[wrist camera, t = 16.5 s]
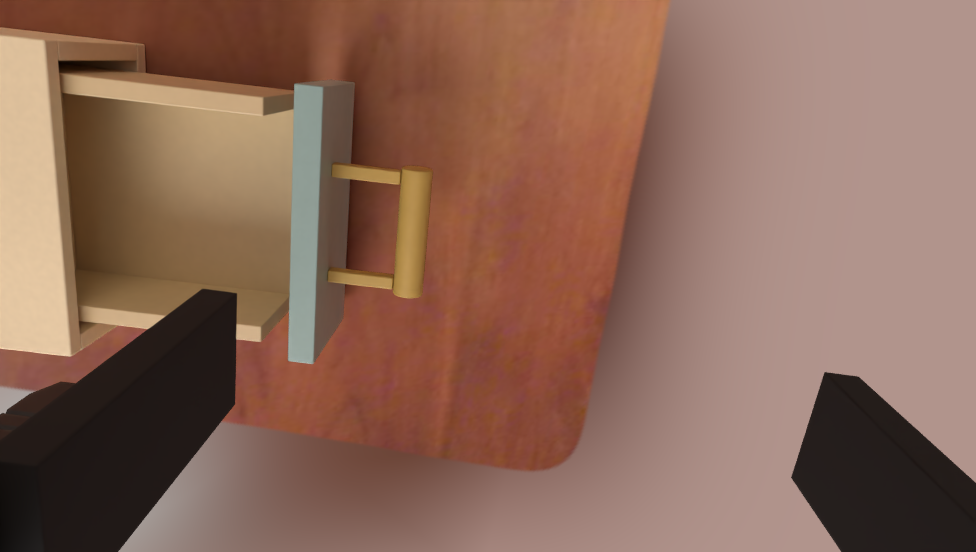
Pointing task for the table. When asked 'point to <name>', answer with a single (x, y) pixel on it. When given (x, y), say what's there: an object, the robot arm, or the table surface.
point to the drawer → (223, 201)
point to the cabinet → (42, 189)
